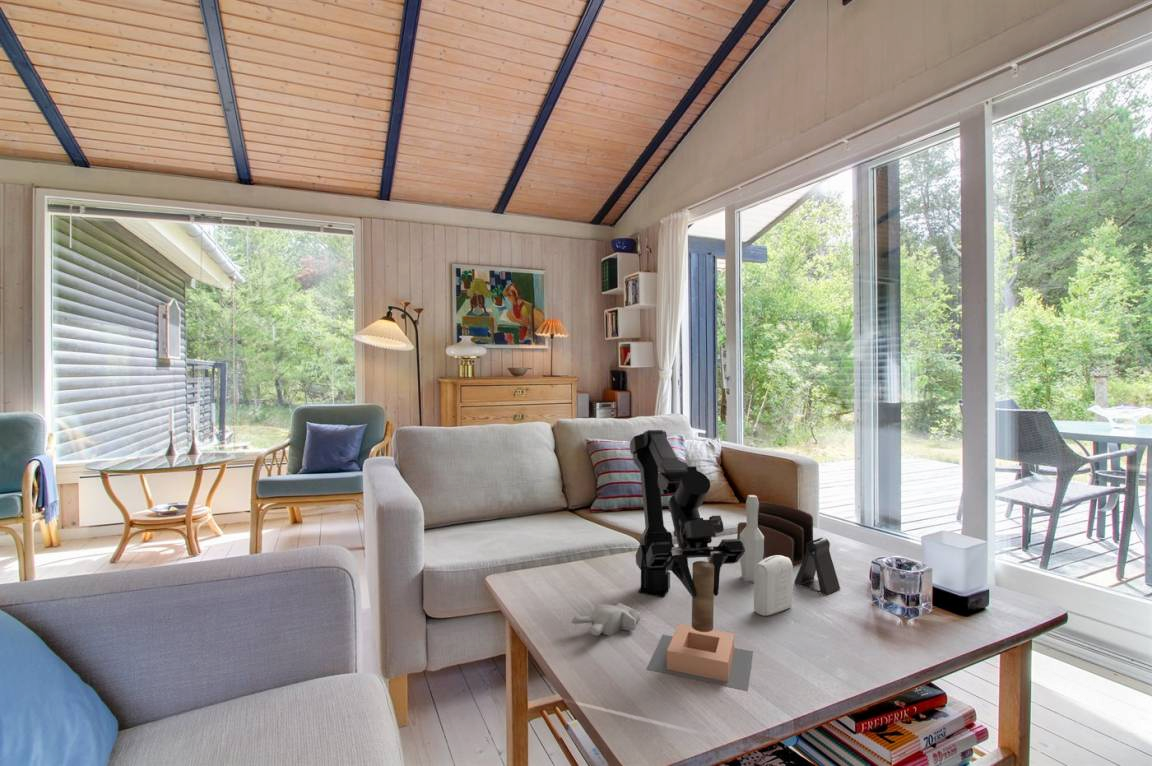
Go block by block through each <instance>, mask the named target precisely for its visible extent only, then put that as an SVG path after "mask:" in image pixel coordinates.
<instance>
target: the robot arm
mask: <svg viewBox="0 0 1152 766" xmlns="http://www.w3.org/2000/svg"><path fill="white" fill-rule="evenodd" d="M629 449H630V450H629V451H630V453H631V454H632V460H633V462H634V465H636V467H637V469H639V471H640V480H641V482H640V483H641V493H642V503H643V514H644V526H645V527H644V530H643V532H642V534H641V536H640V539H639V542H640V543H639V544H640V545H638V547H637V550H636V553H635V563H636V565H637V567H638V569H639V570H640V588H639V589H638V593H639V594H643V595H649V596H656V597H665V596H666V595H667V593H668V592H669V591H670V589H671V572H672V574H674V575H675V577H677V579H679V581H680V582H681V583H682V584H683V585H682V586H684V587H685V589H686V590H687V592H688V593H689V595H690V596H691V598H692V597H695V596H696V592H695V587H694V584H693V580H692V575H691V571H690V567H689V559H693V558H706V559H707V562H710V563H712V564H714V597H718V596H719V588H720V575H721V574H720V573H721V568H722V566H723V565H730V564H731V565H733V564H737V563H738V562H739V560H740V558H741V556H742V555H743V554H744V552H745V548H744V545H743V543H742V542H741V541H740V540H739V539H737V538H730V539H728V538H727V539H721V541H720V542H719V544H718V545H716V546H709V545H708V544H711V543H712V541H713V539H712V537H714V538H715V537H717V534H720V533H722V532H723V533H724V529H725V528H724V522H723V520H722V517H721V515H711V516H709V517H708V519H704V518H703V517H701V516H700V515H701V514H700V512H699V508H700V507H701V506H702V504H703V502H704V500H705V498H706V496H707V494H708V492H709V490H710V488H711V481H710V478H708V477H707V475H705V474H704V473H702V471H699V470H697V466H693V465H692V466H690V465H689V464H688V463H687V462H685V461H683V460H680V459H679V458H678V457H677V455H676V453H675V451H674V449H673V447H672V445H671V444H670V442H669V440H668V435H667V432H666V431H665V430H663V429H650V430H649V429H648V430H646V431H644V432H643V433H641V434H637V435H635V436H633V437H632V438H631V439H630V443H629ZM661 493H662V494H663V495H672V496H670V499H669V500H668V512H669V513H670V516H671V520H672V525H673V529H674V530H673V533H671V531H668V529H667V527H665V524H664V516H663V515H664V514H663V513H664V512H663V504H662V497H661V496H662V495H661ZM673 535H674V538H676V541H677V546H675V544H674V543H673Z"/></svg>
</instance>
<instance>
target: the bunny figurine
mask: <svg viewBox="0 0 1152 766" xmlns="http://www.w3.org/2000/svg"><path fill="white" fill-rule="evenodd" d="M638 621H641V612H640V611H637V610H636V609H633V608H632V607H630V606H628V605H625V604H624V603H621V602H619V603H617V604H616V605H609V604H607V603H606V604H598V605H596V606H595V607H594V609H593V611H592V613H591V616H589V615H574V616H573V618H572V620H571V623H572V624H575V625H577V624H587V623H588V624H589V623H591V625H590V626H588V631H589V633H590V634H591V635H592V636H599V635H601V634H604V635H606V636H608V637H611V636H612V635H615V634H616V633H618V632H620V631H631V632H632V631H634V630H636V625H637V623H638Z"/></svg>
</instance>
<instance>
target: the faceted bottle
mask: <svg viewBox="0 0 1152 766" xmlns="http://www.w3.org/2000/svg"><path fill="white" fill-rule="evenodd" d="M758 501H759V499H758V496H757V495H755V494H748V495H747V498H746V502H745V510H746V523H747V525H746V527H745V528H744V530H743V531H742V532H741V533H740V541H741V542H742V543H743V545H744V548H745V552H744V554H743V555H742V556H741V558H740V559H739V560H740V571H741V577H742V578H741V579H742V580H744V581H745V580H746V581H745V582H749V581H751V583H754V579H755V567H756V565H757V564H758V563H759V562H760V561H762V560H764V556H763V554H764V536H763V534H762V533H761V531H760V530H759V528H758V508H759V502H758Z"/></svg>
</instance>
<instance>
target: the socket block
mask: <svg viewBox="0 0 1152 766" xmlns="http://www.w3.org/2000/svg"><path fill="white" fill-rule="evenodd" d="M672 636H673V638H672V640H671V642H670V645H669V647H668V649H667V669H669V670H674V671H678V672H683V673H688V674H693V675H698V676H702V677H707V678H712V679H717V680H722V681H726V682H728V679H729V674H730V669H731V664H732V659H733V654H734V648H735V633H731V632H730V633H729V632H724V631H717V630H714V629H713V630H712V631H710V632H700V631H697V630H695V629H693V628H692V625H691V626H690V625H686V624H685V625H684V624H677V627H676V629H675V630H674V634H673V635H672Z"/></svg>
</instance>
